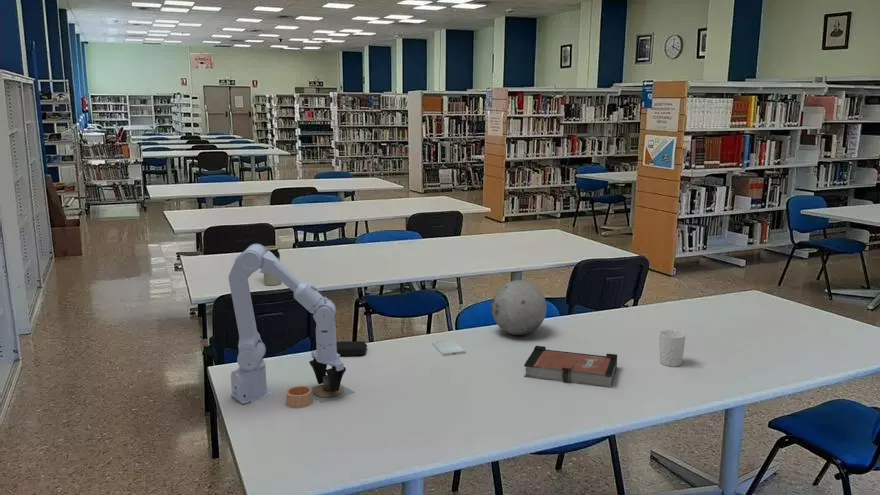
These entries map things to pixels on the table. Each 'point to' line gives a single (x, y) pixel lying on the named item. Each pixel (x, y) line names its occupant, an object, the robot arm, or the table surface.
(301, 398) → the bowl
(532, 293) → the moon model
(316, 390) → the lid
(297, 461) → the table surface
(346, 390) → the mat
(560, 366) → the book
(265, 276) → the travel mug
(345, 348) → the carrying case or bag
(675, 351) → the white cup
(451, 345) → the hard drive
